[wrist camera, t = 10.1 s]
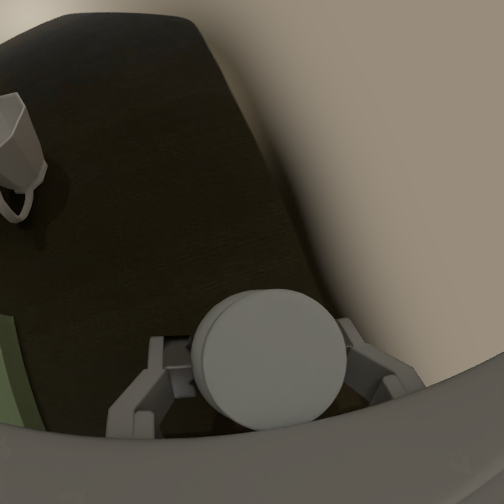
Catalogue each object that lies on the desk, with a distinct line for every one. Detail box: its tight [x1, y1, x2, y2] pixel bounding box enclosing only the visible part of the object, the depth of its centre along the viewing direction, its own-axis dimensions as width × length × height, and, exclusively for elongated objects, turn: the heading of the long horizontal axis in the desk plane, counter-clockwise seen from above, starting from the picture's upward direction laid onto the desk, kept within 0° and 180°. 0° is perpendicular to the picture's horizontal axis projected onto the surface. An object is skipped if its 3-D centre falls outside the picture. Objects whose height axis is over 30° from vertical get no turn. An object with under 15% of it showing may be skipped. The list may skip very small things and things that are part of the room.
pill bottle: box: [191, 289, 347, 431], centre depth 12 cm, size 5×5×8 cm
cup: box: [0, 92, 48, 223], centre depth 19 cm, size 7×10×8 cm
